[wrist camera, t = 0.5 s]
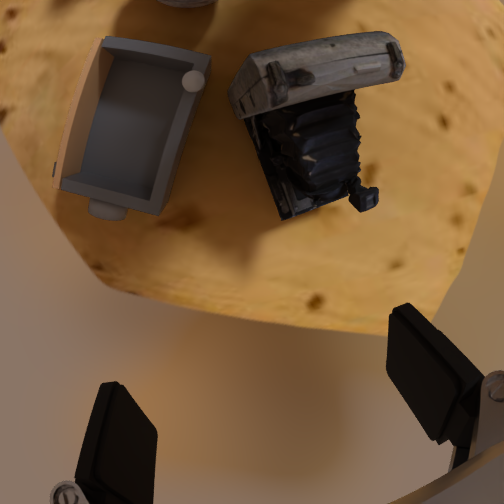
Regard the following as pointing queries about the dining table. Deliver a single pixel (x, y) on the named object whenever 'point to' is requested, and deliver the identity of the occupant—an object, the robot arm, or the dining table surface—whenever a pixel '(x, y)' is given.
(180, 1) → the pottery
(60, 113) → the dining table surface
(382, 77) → the vintage camera
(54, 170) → the door
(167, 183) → the grey open drawer box
